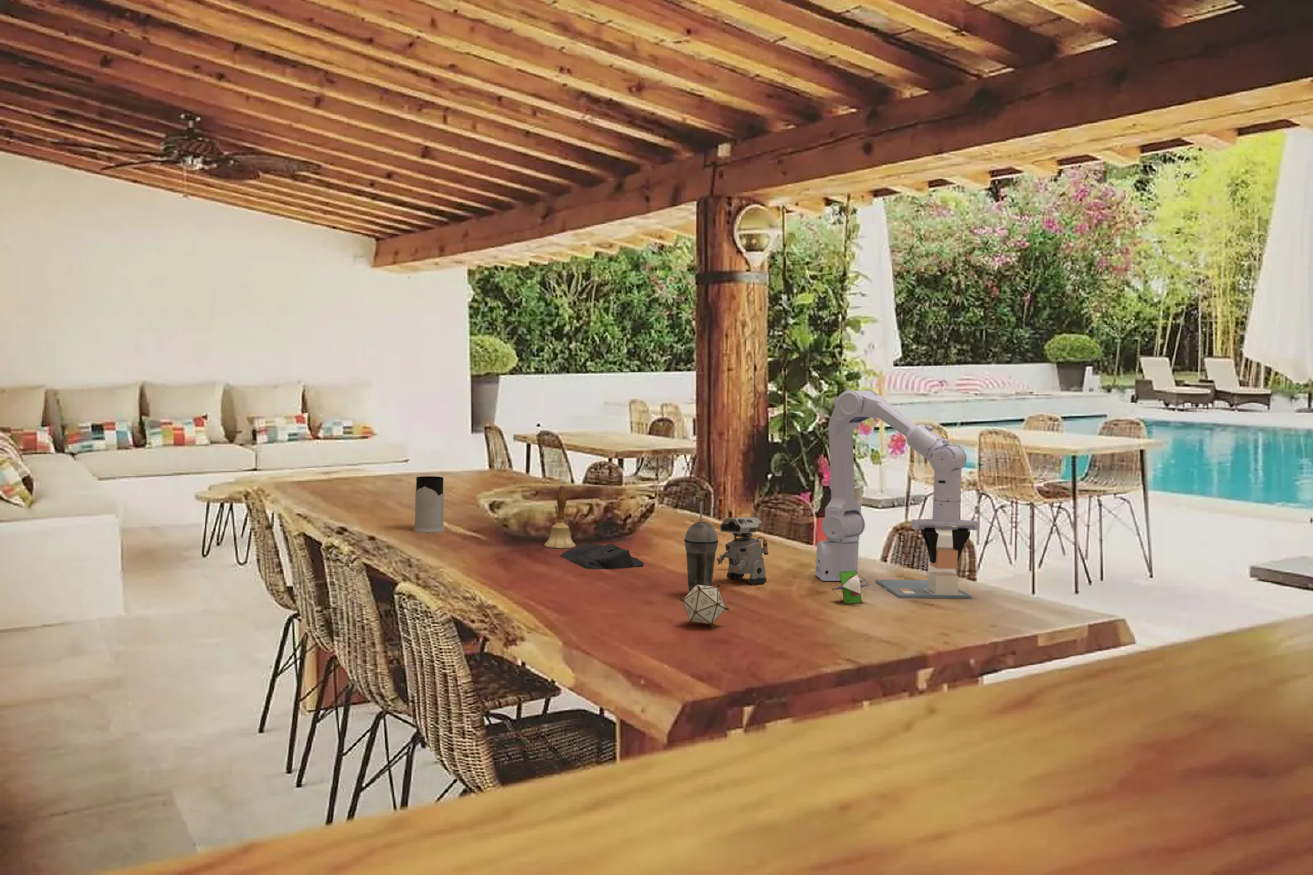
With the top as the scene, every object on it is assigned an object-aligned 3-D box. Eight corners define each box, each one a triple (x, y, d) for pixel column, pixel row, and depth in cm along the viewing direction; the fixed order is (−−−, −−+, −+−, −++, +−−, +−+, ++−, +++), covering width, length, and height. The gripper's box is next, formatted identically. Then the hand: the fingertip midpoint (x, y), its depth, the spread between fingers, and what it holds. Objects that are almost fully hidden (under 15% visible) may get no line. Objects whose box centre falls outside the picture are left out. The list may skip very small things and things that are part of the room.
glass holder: (408, 531, 328) (409, 478, 327) (426, 525, 342) (427, 473, 341) (438, 533, 327) (439, 479, 326) (455, 526, 341) (456, 475, 340)
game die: (693, 643, 221) (675, 595, 226) (735, 627, 222) (717, 580, 226) (689, 629, 213) (671, 580, 218) (733, 613, 214) (714, 564, 218)
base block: (935, 594, 254) (936, 575, 254) (927, 589, 259) (928, 571, 259) (957, 594, 255) (958, 576, 255) (949, 589, 260) (950, 571, 260)
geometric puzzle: (823, 588, 249) (836, 562, 245) (850, 586, 252) (864, 560, 247) (836, 613, 244) (850, 587, 240) (864, 611, 247) (878, 586, 242)
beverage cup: (720, 593, 251) (723, 500, 250) (711, 599, 245) (714, 504, 243) (688, 590, 254) (691, 498, 253) (678, 596, 247) (680, 501, 246)
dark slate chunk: (612, 554, 301) (612, 536, 301) (647, 569, 282) (648, 549, 281) (555, 557, 295) (556, 538, 295) (588, 572, 275) (588, 552, 275)
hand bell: (558, 542, 316) (559, 483, 315) (582, 546, 311) (583, 486, 310) (537, 546, 309) (539, 485, 308) (561, 549, 304) (563, 488, 303)
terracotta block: (937, 568, 254) (937, 550, 254) (930, 565, 259) (931, 547, 259) (957, 568, 255) (958, 550, 255) (950, 565, 259) (950, 547, 259)
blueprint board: (898, 597, 252) (899, 594, 252) (875, 582, 270) (875, 579, 270) (971, 598, 254) (971, 595, 254) (943, 582, 272) (943, 579, 271)
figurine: (707, 581, 265) (709, 515, 264) (745, 576, 272) (747, 512, 271) (732, 588, 258) (735, 520, 257) (772, 583, 265) (774, 517, 264)
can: (956, 580, 275) (958, 530, 274) (928, 579, 276) (930, 528, 275) (955, 576, 281) (957, 526, 280) (927, 574, 282) (929, 524, 282)
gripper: (919, 502, 251) (917, 565, 252) (985, 503, 253) (982, 565, 253) (909, 498, 258) (907, 559, 259) (973, 499, 260) (971, 560, 260)
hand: (943, 562), depth 257 cm, fingers closed on terracotta block, 4 cm apart
